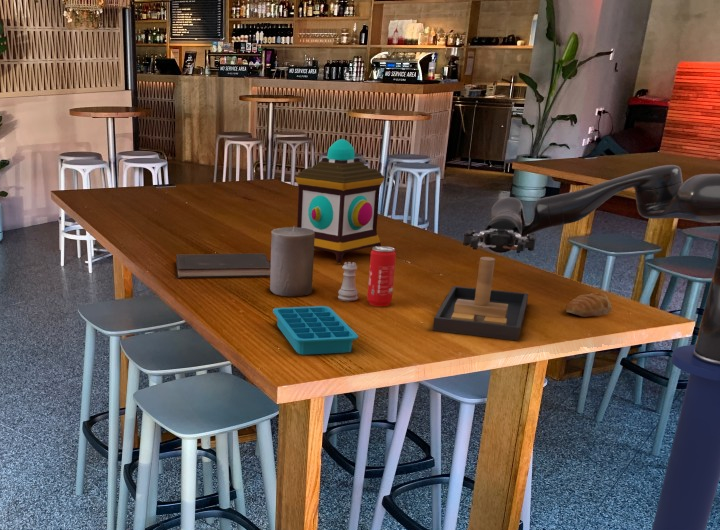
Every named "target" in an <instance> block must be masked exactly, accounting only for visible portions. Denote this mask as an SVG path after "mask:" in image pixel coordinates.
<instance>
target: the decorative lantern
mask: <svg viewBox="0 0 720 530" xmlns="http://www.w3.org/2000/svg"><path fill="white" fill-rule="evenodd" d="M355 155H356V152H355V148H354V146H353V145H352V144H351V143H350V142H349V141H348V140H346V139H343V138H340V139H337V140H336V141H335V142H333V143H332V144H331V146H329V148H328V150H327V156H326V157H322V158H321V161H318V162H317V164H315V165H313V166H312V167H307V168H304V169H302V171H299V172H298V174H296V175H294V178H295V182H296V184H297V187H298V195H297V196H298V197H297V198H298V199H297V219H296V220H297V222H296V223H297V224H296V225H297V226H296V227H298V228H307V229H311V230H313V231H314V232H315V239H314V250H319V251H325V252H328V253H333V254H334V255H335V257H336V258H335V259H336V263H337V264H338V265H341V264H342V262H343V258H344V255H345V254H347V253H350V252H351V253H352V252H354V251H355V252H356V251H359V250H364V249H367V248H368V249H369V248H373V247H378V246H382V243H381V240H380V238H379V235H378V232H377V230H378V229H377V227H378V217H379V203H380V190H381V187H382V184H383V182H384V181H385V177H386V176H385V175H383V174H382V172H379V171H378V169H377V168H371V167H369V166H368V165H366V164H365V162H363V161H360V160H361V158H360V157H356V156H355Z"/></svg>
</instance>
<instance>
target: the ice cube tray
mask: <svg viewBox="0 0 720 530" xmlns="http://www.w3.org/2000/svg"><path fill="white" fill-rule="evenodd" d="M272 313H273V314H274V316H275V317H276V322H277V327H278V329H279V330H280V332H281V333H282V334H283V336H284V337H285V339H286V340H287V341H288V342H289V344H290V345H291V347H292V348H293V349H294V351H295V352H296V353H297V354H299V355H302V356H306V355H325V354H342V353H343V354H344V353H345V354H347V353H351V352H352V347H353V341H354V340H357V339H358V338H359V335H358V334H357V333H356V332H355V331H354V330H353V329H352V328H351V326H350V325H348V324H347V323H346V322H345V321H344V320H343V319H342V317H340V316H339V315H338V314H337V312H335V311H334V310H333V309H332V308H331V307H330V306H327V305H326V306H325V305H318V306H317V305H316V306H295V307H294V306H293V307H292V306H291V307H275V308H273V309H272Z"/></svg>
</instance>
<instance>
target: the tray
mask: <svg viewBox="0 0 720 530" xmlns="http://www.w3.org/2000/svg"><path fill="white" fill-rule="evenodd" d="M475 293H476V287H466V286H457V285H453V286H452V287H451V289H450V291H449V292H448V294H447V295H446V297H445V298H444V300H443V302H442V304H441V305H440V307H439V309H438V311H437V312H436V314H435V316H434V317H433V325H432V331H434V332H443V333H450V334H458V335H466V336H467V335H468V336H475V337H483V338H491V339H499V340H508V341H514V342H519V339H520V334H521V330H522V327H523V322H524V318H525V314H526V310H527V306H528V300H529V293H528V292H526V293H525V292H517V291H516V292H515V291H507V290H495V289H491V295H490V302H493V303H502V304H508V310H507V315H506V318H507V323H506V325H502V324H493V323H485V322H476V321H467V320H459V319H451V317H452V315H453V313H454V307H455V303H456V301H457V299H464V300H475Z"/></svg>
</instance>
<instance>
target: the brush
mask: <svg viewBox="0 0 720 530" xmlns="http://www.w3.org/2000/svg"><path fill="white" fill-rule="evenodd" d="M495 265H496V258H494V257H491V256H481V257H479V263H478V271H477V277H476V286H475V288H476V293H475V300H464V299H457V301H456V303H455V307H454V313H462V314H471V315H475V317H474V321H476V322H484V319H485V316H489V317H498V318H506V315H507V310H508V304H502V303H493V302H490V295H491V290H492V287H493V281H494V280H493V278H494V271H495Z"/></svg>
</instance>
